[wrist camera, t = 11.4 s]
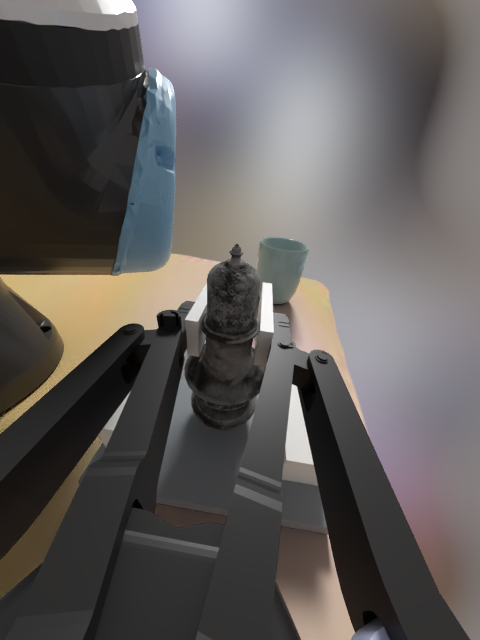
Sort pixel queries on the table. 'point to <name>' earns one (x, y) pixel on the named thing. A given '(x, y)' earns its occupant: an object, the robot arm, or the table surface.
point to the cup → (281, 266)
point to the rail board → (228, 464)
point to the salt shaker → (227, 348)
